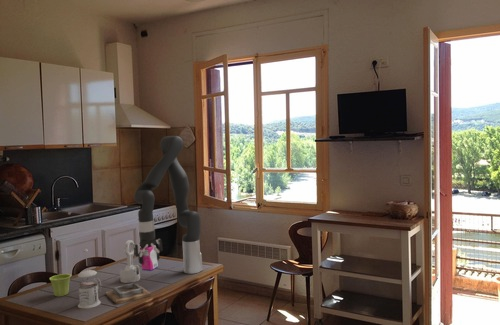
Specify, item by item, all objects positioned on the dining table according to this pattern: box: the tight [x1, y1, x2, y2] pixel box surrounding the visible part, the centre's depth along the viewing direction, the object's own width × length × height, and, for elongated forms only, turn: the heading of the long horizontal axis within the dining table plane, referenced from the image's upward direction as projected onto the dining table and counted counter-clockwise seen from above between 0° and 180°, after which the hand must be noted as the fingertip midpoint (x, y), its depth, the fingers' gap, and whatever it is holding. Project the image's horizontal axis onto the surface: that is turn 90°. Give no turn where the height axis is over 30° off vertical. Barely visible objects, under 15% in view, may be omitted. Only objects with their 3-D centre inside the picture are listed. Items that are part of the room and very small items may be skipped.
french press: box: [77, 248, 102, 309], centre depth 190 cm, size 10×12×25 cm
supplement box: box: [139, 244, 159, 272], centre depth 212 cm, size 6×6×12 cm
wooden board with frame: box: [105, 282, 152, 305], centre depth 200 cm, size 16×16×3 cm
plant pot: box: [49, 273, 72, 297], centre depth 205 cm, size 9×9×9 cm
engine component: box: [119, 239, 141, 284], centre depth 224 cm, size 11×20×10 cm
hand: (149, 262), depth 212 cm, fingers closed on supplement box, 7 cm apart
